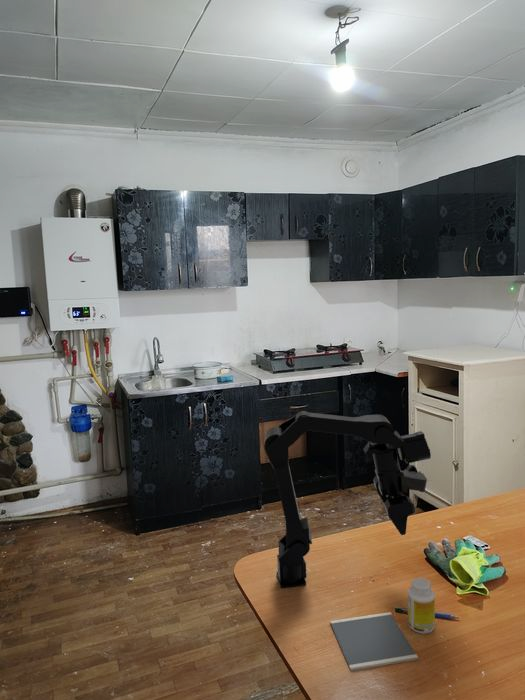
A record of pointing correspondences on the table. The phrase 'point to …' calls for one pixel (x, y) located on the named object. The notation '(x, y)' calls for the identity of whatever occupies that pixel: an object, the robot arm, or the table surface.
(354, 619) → the mat
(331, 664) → the table surface
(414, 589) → the supplement bottle
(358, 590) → the table surface
